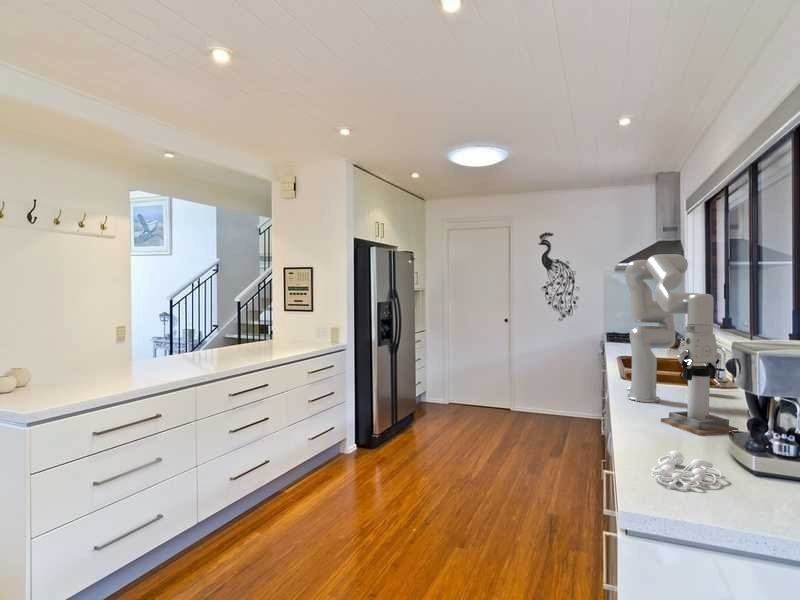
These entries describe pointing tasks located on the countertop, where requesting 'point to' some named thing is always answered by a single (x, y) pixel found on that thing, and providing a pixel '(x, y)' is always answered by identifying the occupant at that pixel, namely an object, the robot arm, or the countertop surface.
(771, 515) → the countertop surface
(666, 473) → the tangled rod sculpture
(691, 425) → the frame
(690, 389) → the travel mug
